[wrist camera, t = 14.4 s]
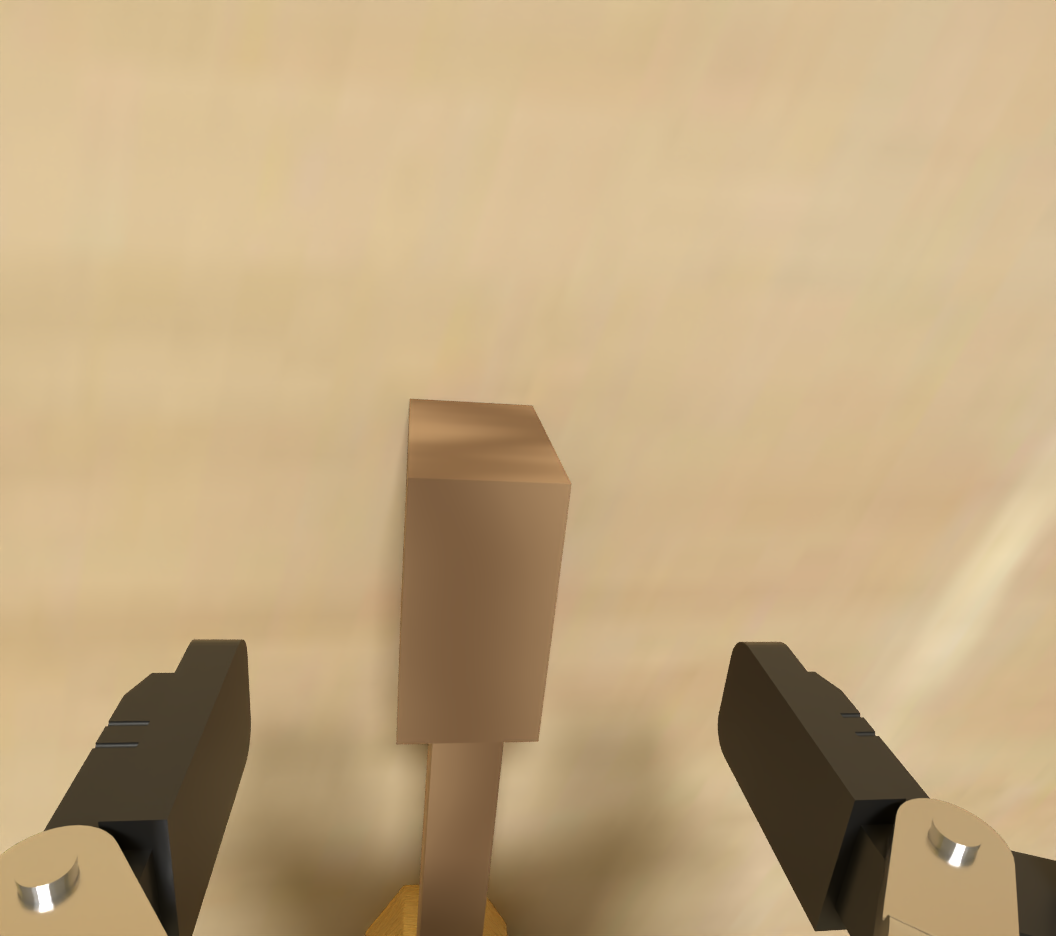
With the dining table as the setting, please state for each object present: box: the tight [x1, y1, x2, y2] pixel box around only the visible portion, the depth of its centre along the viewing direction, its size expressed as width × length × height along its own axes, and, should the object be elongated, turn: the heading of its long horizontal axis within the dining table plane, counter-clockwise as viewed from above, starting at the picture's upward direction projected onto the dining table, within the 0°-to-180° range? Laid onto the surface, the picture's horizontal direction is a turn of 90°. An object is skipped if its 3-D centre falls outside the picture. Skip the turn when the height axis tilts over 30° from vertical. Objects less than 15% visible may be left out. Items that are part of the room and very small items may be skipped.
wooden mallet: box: [396, 399, 571, 936], centre depth 20 cm, size 7×22×5 cm, turn 174°
